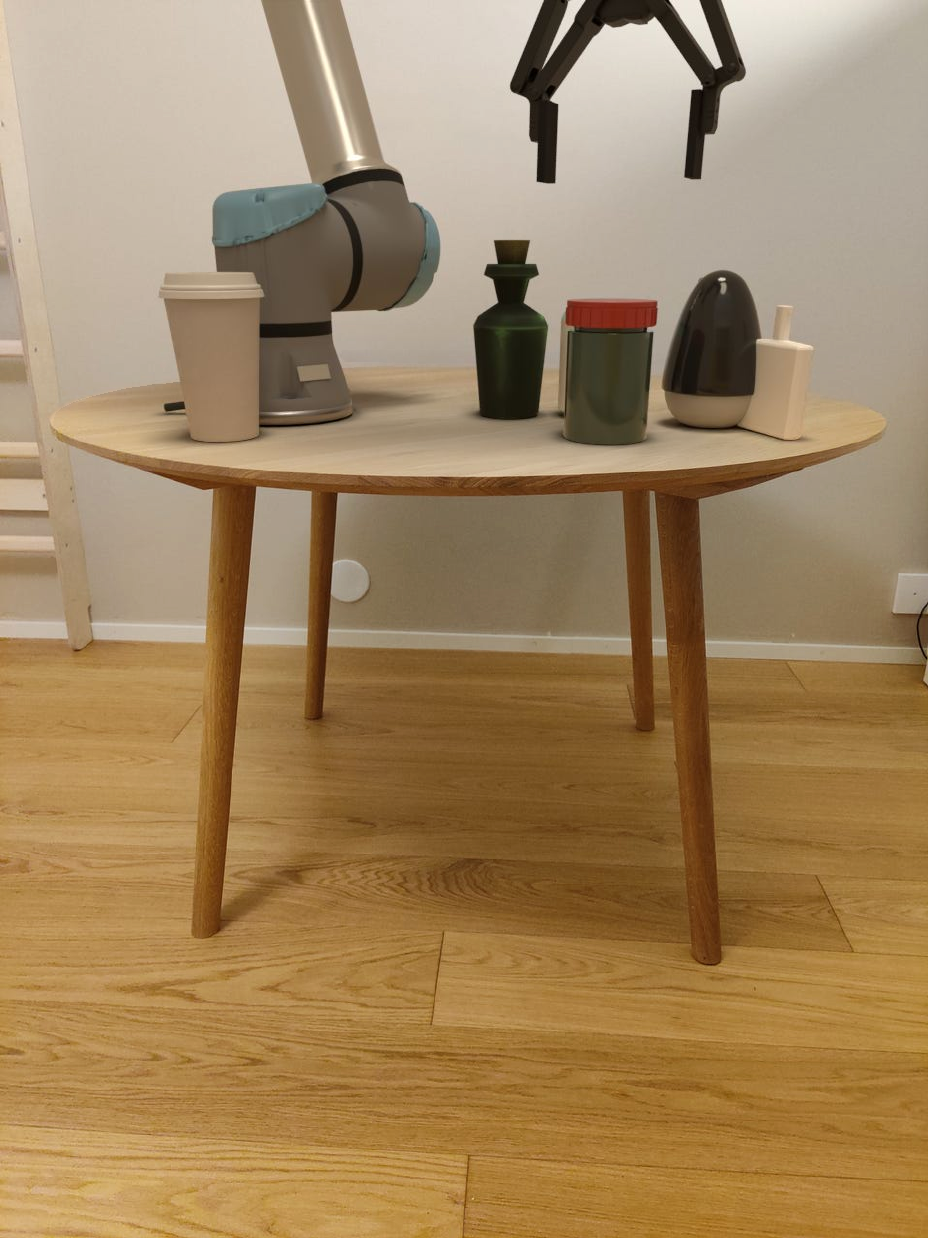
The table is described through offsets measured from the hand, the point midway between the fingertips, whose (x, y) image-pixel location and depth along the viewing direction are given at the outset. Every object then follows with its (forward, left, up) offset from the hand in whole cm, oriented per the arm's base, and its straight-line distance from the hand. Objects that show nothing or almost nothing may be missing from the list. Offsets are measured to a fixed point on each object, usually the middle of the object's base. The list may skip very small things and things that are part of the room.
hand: (616, 181), depth 82 cm
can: (-6, +12, -23) cm, 26 cm away
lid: (0, 0, -11) cm, 11 cm away
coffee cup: (-33, -17, -23) cm, 43 cm away
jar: (0, 0, -23) cm, 23 cm away
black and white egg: (+7, +12, -23) cm, 27 cm away
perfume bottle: (+14, +10, -23) cm, 28 cm away
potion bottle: (-14, +8, -23) cm, 28 cm away
